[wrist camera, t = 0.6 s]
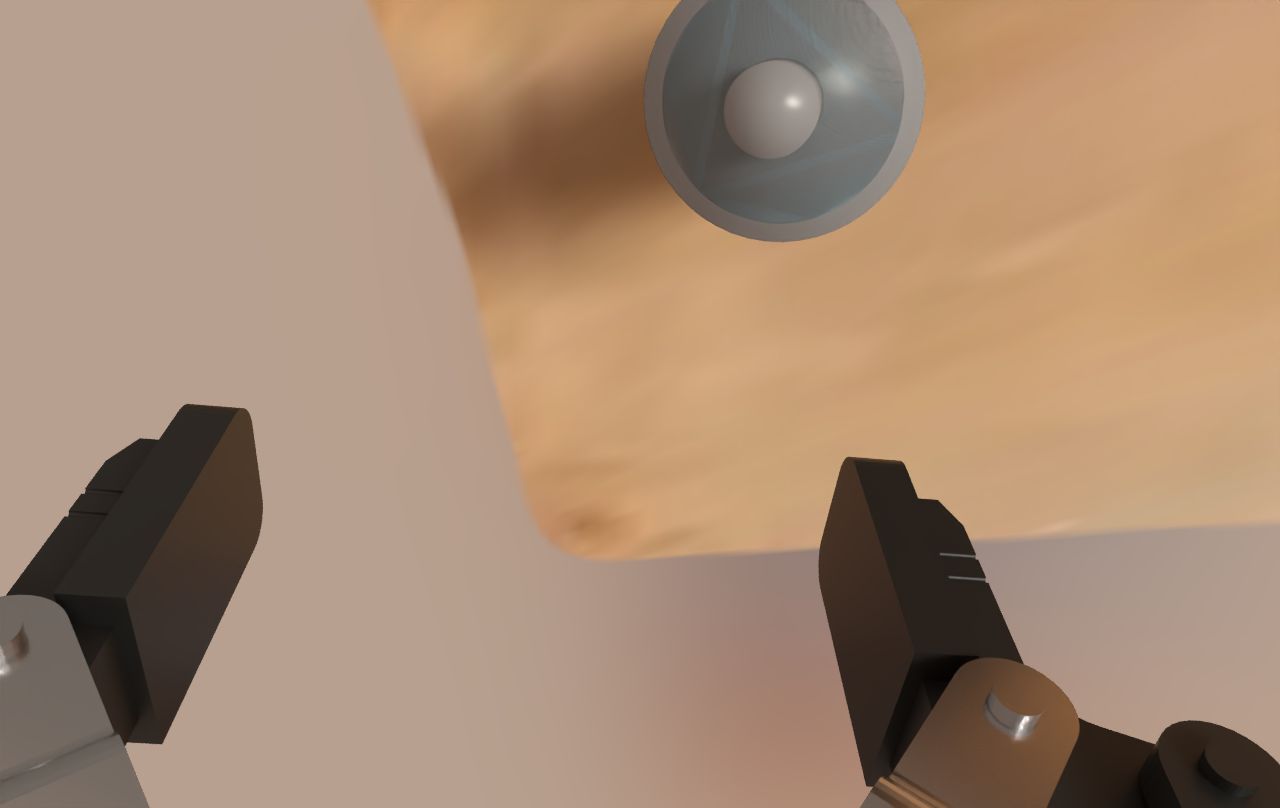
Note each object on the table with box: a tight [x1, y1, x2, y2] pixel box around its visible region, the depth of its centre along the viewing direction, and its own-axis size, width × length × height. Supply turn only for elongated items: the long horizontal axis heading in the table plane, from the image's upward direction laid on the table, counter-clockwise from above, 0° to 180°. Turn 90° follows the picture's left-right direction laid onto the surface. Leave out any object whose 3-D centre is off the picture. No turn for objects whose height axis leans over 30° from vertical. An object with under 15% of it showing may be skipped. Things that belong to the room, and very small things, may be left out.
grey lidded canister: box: [644, 0, 925, 242], centre depth 25 cm, size 6×6×14 cm
